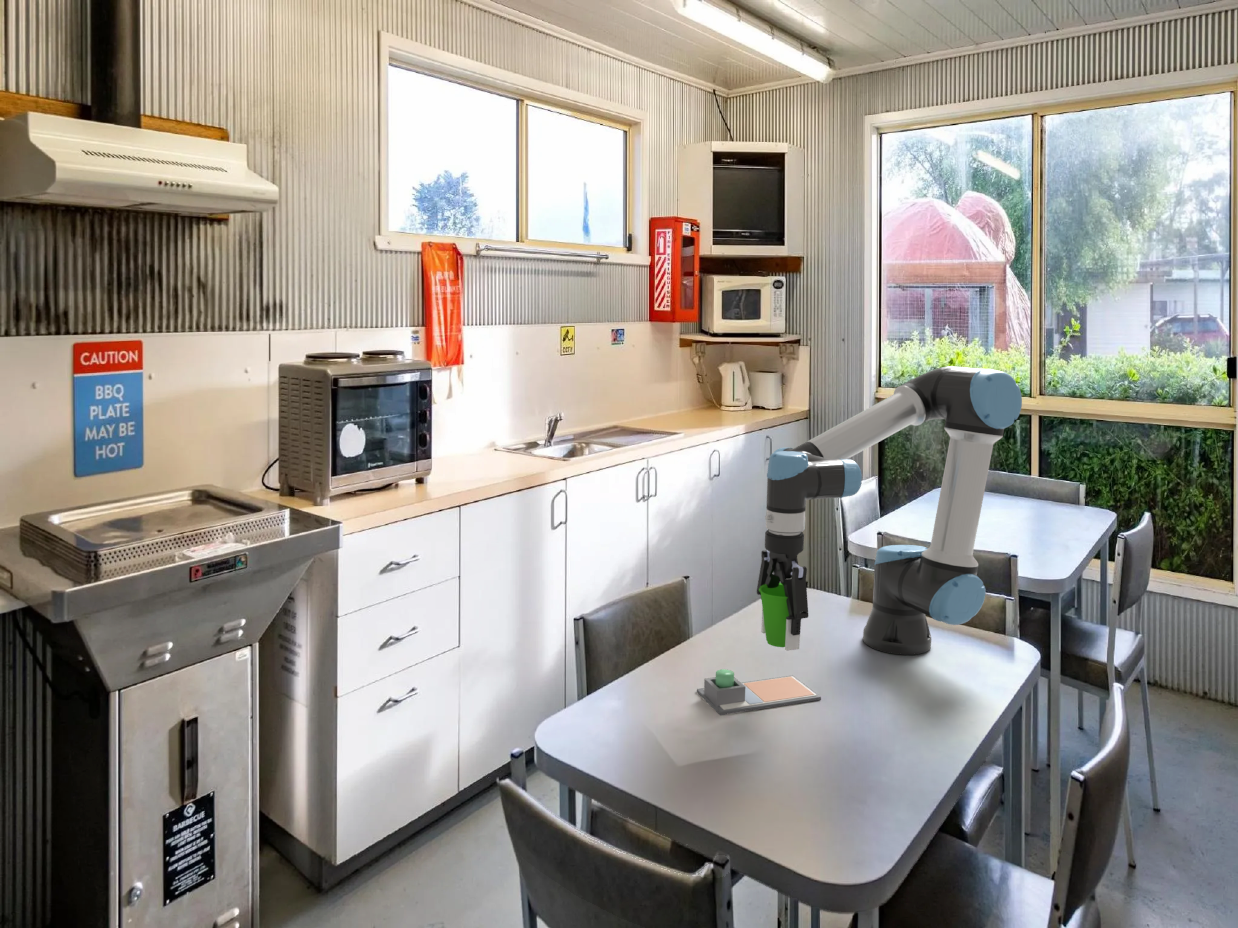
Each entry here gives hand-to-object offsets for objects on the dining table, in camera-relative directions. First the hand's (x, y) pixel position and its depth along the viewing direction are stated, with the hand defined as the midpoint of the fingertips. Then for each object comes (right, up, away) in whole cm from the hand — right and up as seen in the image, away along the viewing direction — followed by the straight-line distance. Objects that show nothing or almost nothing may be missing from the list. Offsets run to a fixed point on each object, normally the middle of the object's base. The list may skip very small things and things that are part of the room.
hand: (779, 640), depth 177 cm
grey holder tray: (-4, -11, +1) cm, 12 cm away
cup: (0, -1, 0) cm, 1 cm away
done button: (-11, -9, -2) cm, 14 cm away
